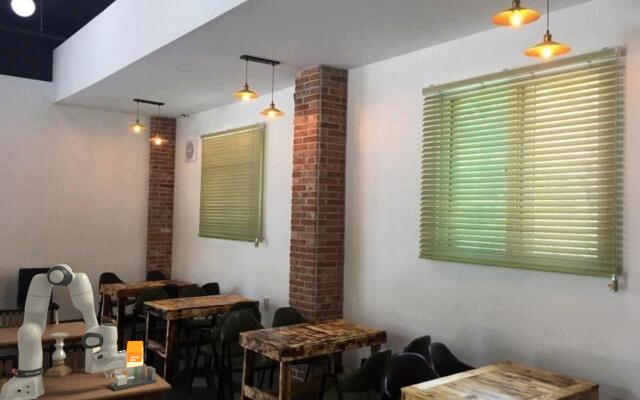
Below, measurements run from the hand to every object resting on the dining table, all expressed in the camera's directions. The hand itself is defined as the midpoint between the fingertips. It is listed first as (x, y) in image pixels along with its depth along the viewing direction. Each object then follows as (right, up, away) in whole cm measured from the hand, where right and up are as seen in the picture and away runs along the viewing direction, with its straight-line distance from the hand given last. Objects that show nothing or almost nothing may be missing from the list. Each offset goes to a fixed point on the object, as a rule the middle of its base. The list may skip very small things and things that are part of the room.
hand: (108, 378), depth 296 cm
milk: (-22, -7, +31) cm, 39 cm away
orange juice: (+5, -7, +27) cm, 29 cm away
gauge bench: (+10, -7, +10) cm, 15 cm away
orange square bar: (+6, -5, +10) cm, 13 cm away
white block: (+6, -5, +7) cm, 11 cm away
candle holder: (-40, -6, +25) cm, 47 cm away
